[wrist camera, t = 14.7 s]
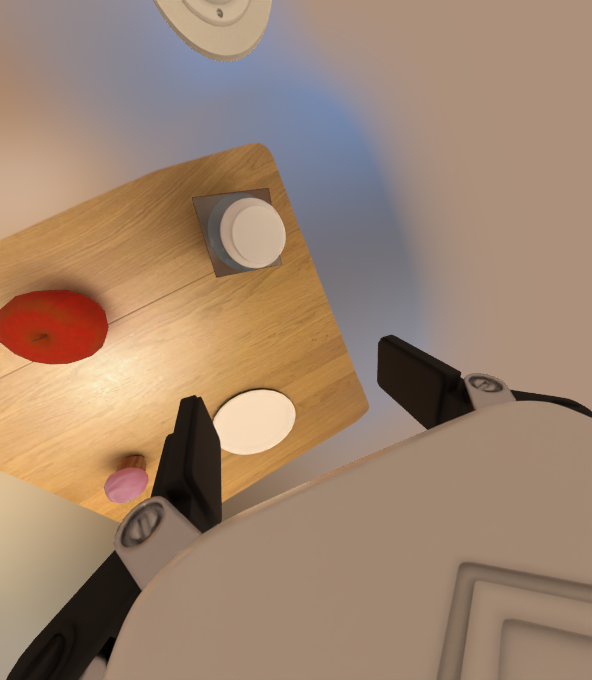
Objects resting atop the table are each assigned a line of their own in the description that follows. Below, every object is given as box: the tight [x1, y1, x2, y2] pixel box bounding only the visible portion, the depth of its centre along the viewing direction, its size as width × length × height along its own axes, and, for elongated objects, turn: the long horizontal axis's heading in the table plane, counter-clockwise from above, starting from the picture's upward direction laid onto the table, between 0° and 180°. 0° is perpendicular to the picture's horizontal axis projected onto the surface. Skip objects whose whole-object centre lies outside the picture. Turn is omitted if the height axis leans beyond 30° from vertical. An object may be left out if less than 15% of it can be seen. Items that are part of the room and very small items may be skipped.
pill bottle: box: [220, 198, 286, 268], centre depth 20 cm, size 5×5×10 cm
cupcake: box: [104, 456, 148, 503], centre depth 56 cm, size 9×9×10 cm
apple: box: [0, 290, 108, 364], centre depth 37 cm, size 12×12×14 cm
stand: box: [192, 188, 281, 278], centre depth 36 cm, size 9×9×20 cm
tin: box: [207, 193, 259, 271], centre depth 26 cm, size 8×8×4 cm
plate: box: [213, 389, 295, 455], centre depth 67 cm, size 25×25×1 cm
